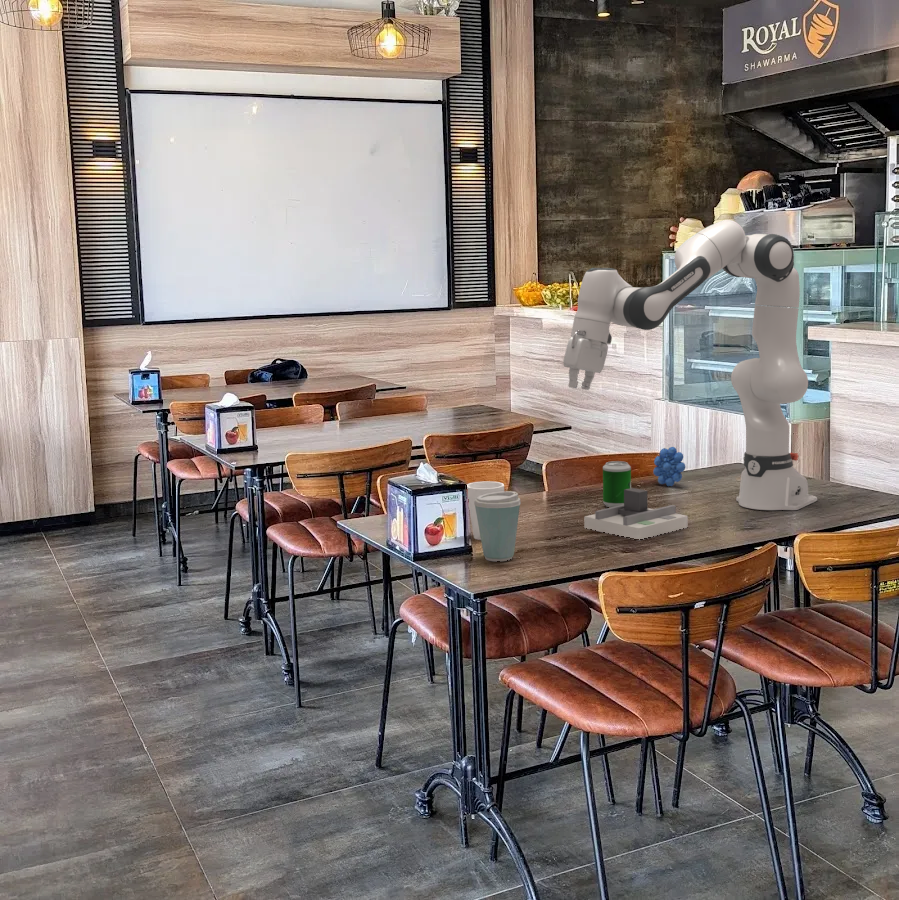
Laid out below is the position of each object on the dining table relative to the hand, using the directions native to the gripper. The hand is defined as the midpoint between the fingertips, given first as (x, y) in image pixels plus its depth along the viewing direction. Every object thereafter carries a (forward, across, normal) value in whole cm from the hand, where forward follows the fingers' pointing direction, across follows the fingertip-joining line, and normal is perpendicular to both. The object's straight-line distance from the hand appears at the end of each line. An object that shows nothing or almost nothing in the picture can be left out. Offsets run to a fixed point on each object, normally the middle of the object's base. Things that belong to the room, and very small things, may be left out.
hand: (578, 388), depth 272 cm
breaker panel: (+32, +11, -18) cm, 38 cm away
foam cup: (+40, -9, +13) cm, 43 cm away
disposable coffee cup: (+41, -26, +2) cm, 49 cm away
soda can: (+30, +33, -6) cm, 45 cm away
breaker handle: (+28, +10, -17) cm, 35 cm away
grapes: (+24, +63, -12) cm, 69 cm away
